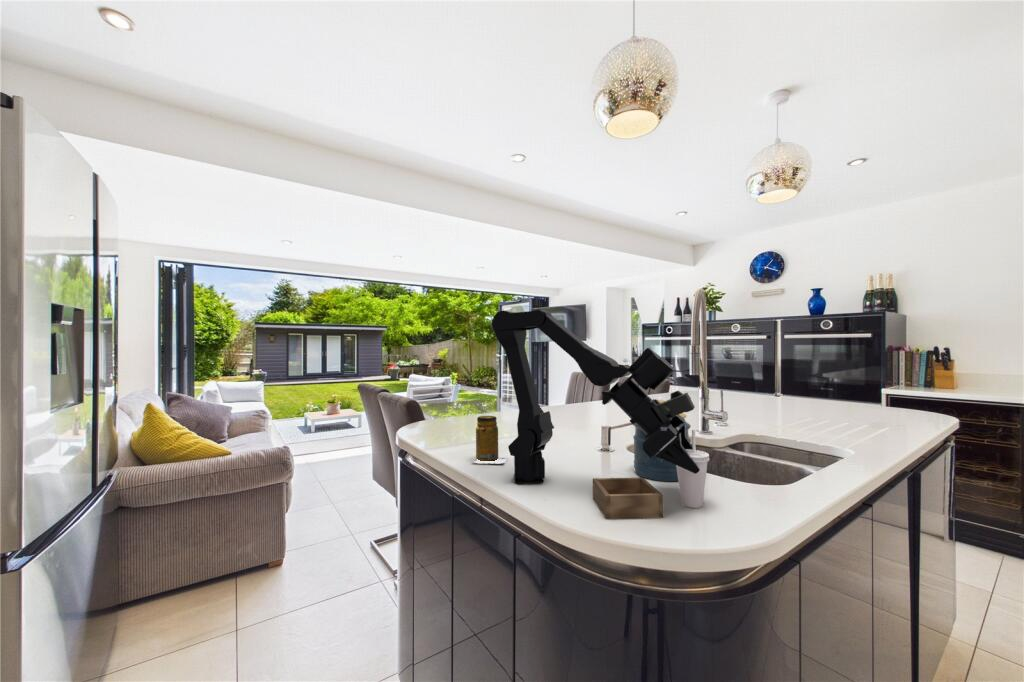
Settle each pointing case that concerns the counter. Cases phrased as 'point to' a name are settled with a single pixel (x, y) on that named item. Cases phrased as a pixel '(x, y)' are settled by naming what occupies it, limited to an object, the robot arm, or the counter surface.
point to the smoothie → (693, 478)
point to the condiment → (486, 438)
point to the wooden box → (627, 498)
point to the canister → (654, 458)
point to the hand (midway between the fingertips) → (699, 467)
